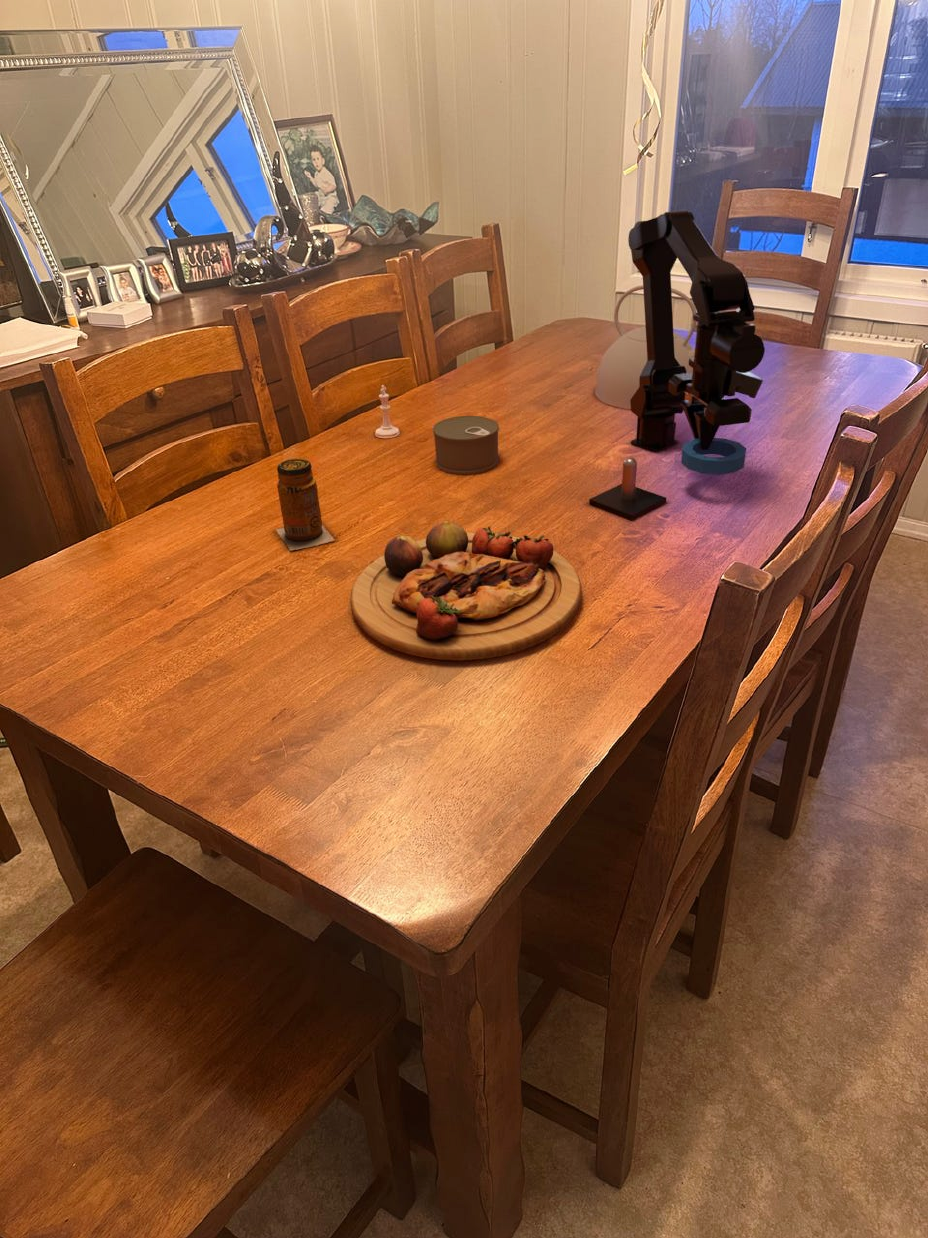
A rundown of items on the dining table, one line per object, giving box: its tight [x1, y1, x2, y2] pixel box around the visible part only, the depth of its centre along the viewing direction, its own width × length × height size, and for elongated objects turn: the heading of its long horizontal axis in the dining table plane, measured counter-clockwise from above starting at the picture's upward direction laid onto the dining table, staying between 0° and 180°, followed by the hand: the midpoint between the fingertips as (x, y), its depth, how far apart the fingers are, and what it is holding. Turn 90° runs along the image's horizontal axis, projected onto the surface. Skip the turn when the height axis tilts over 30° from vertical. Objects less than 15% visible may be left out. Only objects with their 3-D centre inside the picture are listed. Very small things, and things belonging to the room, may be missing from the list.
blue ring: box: [680, 437, 747, 476], centre depth 144 cm, size 10×10×2 cm
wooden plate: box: [349, 519, 583, 661], centre depth 119 cm, size 32×32×8 cm
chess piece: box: [374, 384, 401, 439], centre depth 174 cm, size 5×5×10 cm
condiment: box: [275, 458, 336, 551], centre depth 137 cm, size 7×8×12 cm
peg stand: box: [588, 456, 667, 521], centre depth 142 cm, size 9×9×8 cm
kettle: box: [595, 284, 698, 411], centre depth 184 cm, size 25×23×22 cm
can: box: [432, 415, 500, 476], centre depth 161 cm, size 12×12×7 cm
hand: (702, 447), depth 147 cm, fingers closed on blue ring, 2 cm apart
